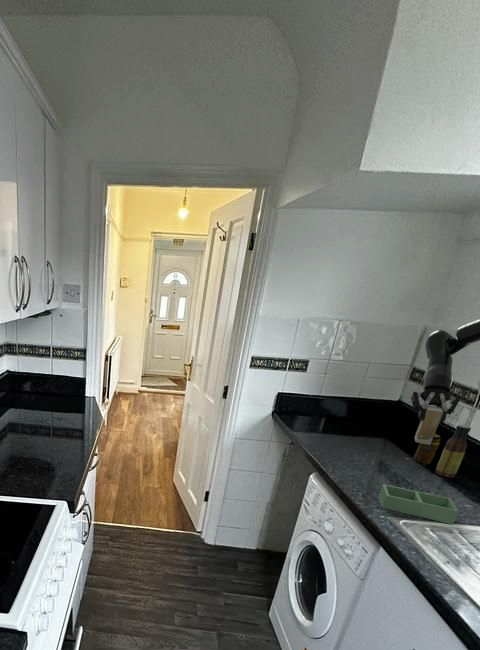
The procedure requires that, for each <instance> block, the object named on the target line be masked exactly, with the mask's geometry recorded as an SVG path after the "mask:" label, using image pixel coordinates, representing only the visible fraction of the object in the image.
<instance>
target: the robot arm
mask: <svg viewBox="0 0 480 650" xmlns="http://www.w3.org/2000/svg"><path fill="white" fill-rule="evenodd" d="M477 342H480V318H478V319H476V320H473V321H471V322H468V323H465V324H463V325H460V326H459V327H458V328H457V329H456V331H455V336H453V335H452V334H451V333H449V332H448V331H446V330H444V329H438V330H434V331H432V332H431V333H430V334H429V335H428V336H427V338H426V340H425V342H424V349H425V355H426V360H427V362H426V363H427V364H426V369H425V373H424V377H423V385H422V390H421V392H418V391H413V392H412V394H411V395H410V399H411V400H410V401H411V405H412V408H413V410H417V411H418V419H419V420H420V422H421V421H423V420H424V419H425V414H426V407H427V406H433V407H440V408H442V410H443V415H442V417H441V419H440V422H439V424H440V425H441V424H442V423H445V421H446V420H447V415H452V413H453V412H454V411H455V410H456V407H458V404H459V403H460V400H461V397H459V396H457V397H454V396H452V394H451V393H450V392H451V386H452V385H451V383H452V377H453V374H452V373H453V371H452V368H453V361H454V360H453V356H452V355H454V354H456V353H458V352H460V351H461V350H463V349H465V348H466V347H468V346H470V345H472V344H474V343H477ZM420 398H421V399H422V400H423V403H422V404H421V403H420ZM448 401H449V404H450V406H449V407H447V402H448Z"/></svg>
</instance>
